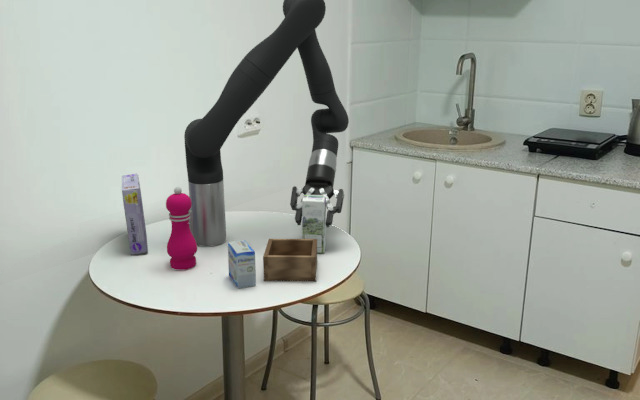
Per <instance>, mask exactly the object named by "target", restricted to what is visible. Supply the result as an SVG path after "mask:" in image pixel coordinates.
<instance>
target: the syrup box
mask: <svg viewBox="0 0 640 400" xmlns="http://www.w3.org/2000/svg"><path fill="white" fill-rule="evenodd" d="M302 198H303V200H302V220H301V225H302V226H301V227H302V228H301V230H302V232H301V233H302V237H301V239H317V254H324V253H325V250H326V247H327V246H326V245H327V242H326V241H327V237H326V232H327V231H326V228H327V227H326V217H327V213H326V212H327V207H326V203H325V200H326V196H325V195H304V194H303V197H302Z"/></svg>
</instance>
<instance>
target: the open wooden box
mask: <svg viewBox="0 0 640 400" xmlns="http://www.w3.org/2000/svg"><path fill="white" fill-rule="evenodd" d="M264 249H265V250H264V253H263V256H262V260H263V261H262V264H263V265H262V266H263V281H264V282H316V281H317V270H318V269H317V268H318V253H317V239H303V238H268V240H267V243H266V247H265V248H264Z"/></svg>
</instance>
